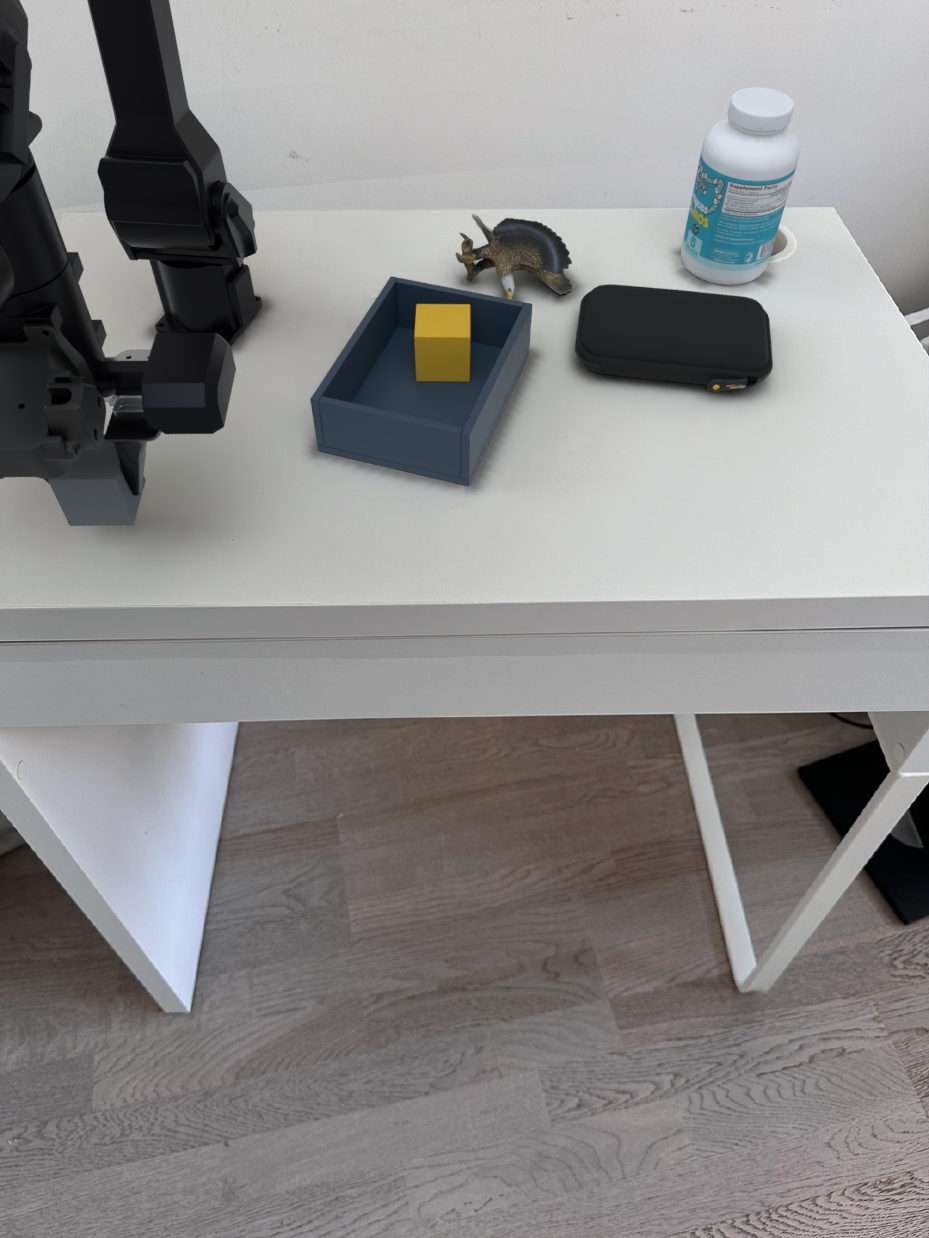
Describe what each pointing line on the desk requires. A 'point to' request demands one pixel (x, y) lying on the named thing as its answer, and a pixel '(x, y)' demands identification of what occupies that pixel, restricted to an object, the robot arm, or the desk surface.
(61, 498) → the slate grey cube
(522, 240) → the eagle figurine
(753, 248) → the pill bottle
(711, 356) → the carrying case
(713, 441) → the desk surface
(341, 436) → the dark blue open box
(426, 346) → the mustard yellow block
